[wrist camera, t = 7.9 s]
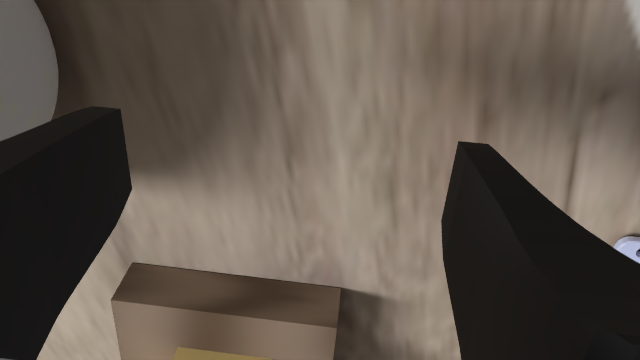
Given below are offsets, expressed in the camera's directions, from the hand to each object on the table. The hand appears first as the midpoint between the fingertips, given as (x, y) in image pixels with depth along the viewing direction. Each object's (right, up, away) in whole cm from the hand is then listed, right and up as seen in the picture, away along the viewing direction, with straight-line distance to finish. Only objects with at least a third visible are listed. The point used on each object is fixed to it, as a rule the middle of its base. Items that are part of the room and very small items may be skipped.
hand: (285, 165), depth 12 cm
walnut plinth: (-4, -9, +17) cm, 20 cm away
